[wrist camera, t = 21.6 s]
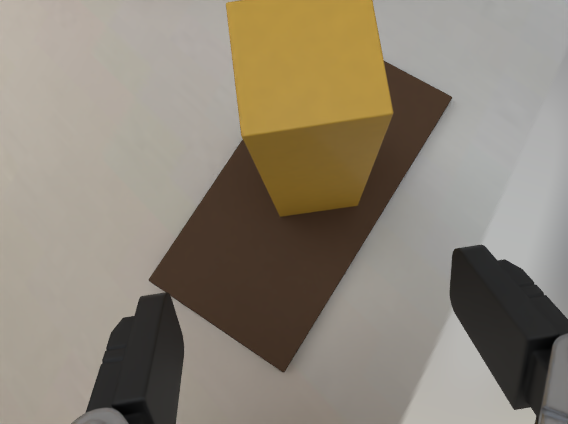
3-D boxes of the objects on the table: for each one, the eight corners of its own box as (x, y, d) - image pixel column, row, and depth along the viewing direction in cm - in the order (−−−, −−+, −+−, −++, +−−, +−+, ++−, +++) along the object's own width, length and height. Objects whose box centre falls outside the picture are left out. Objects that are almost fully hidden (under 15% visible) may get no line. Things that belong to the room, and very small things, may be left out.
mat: (284, 371, 25) (283, 372, 25) (150, 280, 26) (148, 280, 26) (450, 99, 27) (452, 96, 27) (318, 29, 29) (318, 25, 28)
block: (279, 217, 26) (241, 136, 13) (270, 143, 27) (225, 1, 14) (358, 205, 26) (394, 113, 13) (345, 131, 27) (368, -22, 14)
